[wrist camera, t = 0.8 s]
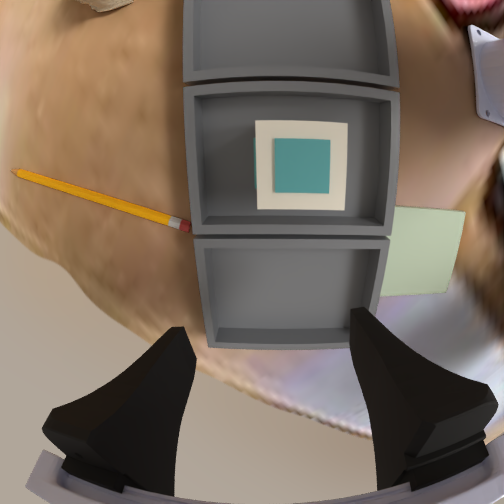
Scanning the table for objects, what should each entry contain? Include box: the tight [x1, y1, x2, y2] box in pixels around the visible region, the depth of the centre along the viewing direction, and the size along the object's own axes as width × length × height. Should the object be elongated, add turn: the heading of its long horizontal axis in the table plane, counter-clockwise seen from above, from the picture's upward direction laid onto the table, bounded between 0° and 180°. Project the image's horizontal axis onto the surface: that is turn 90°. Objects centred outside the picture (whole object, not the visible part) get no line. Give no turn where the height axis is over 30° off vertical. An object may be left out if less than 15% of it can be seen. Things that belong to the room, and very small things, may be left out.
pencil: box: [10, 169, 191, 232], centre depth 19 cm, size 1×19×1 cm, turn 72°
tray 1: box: [183, 0, 400, 91], centre depth 12 cm, size 12×9×2 cm
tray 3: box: [193, 234, 390, 350], centre depth 19 cm, size 12×9×2 cm
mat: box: [380, 205, 466, 296], centre depth 18 cm, size 7×7×1 cm
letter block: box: [253, 120, 348, 210], centre depth 14 cm, size 4×4×5 cm
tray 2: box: [183, 81, 400, 236], centre depth 16 cm, size 12×9×2 cm
